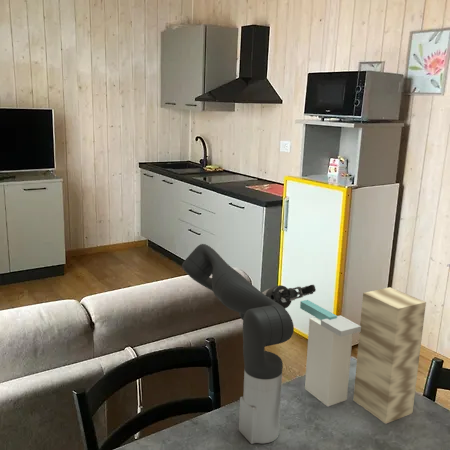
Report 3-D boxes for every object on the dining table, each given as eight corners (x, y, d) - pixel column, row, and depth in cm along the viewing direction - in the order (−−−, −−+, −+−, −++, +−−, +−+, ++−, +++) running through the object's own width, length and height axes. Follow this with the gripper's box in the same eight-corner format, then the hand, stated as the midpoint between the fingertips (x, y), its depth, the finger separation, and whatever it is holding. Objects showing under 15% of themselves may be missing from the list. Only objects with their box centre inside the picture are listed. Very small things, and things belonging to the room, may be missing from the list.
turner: (340, 336, 130) (341, 328, 129) (294, 309, 146) (294, 302, 146) (360, 331, 133) (361, 323, 132) (312, 305, 150) (313, 298, 149)
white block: (327, 406, 137) (333, 332, 132) (304, 388, 145) (309, 318, 140) (346, 400, 140) (353, 327, 135) (323, 382, 149) (328, 314, 144)
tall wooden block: (385, 423, 130) (398, 308, 123) (353, 400, 140) (363, 292, 133) (412, 413, 135) (426, 302, 128) (379, 391, 145) (390, 287, 138)
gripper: (253, 291, 160) (279, 281, 146) (289, 284, 166) (318, 274, 152) (258, 314, 158) (286, 306, 144) (295, 306, 165) (324, 298, 151)
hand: (302, 290), depth 148 cm, fingers open, 8 cm apart
